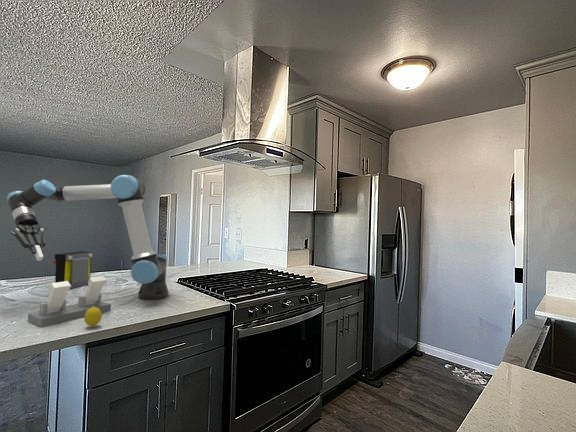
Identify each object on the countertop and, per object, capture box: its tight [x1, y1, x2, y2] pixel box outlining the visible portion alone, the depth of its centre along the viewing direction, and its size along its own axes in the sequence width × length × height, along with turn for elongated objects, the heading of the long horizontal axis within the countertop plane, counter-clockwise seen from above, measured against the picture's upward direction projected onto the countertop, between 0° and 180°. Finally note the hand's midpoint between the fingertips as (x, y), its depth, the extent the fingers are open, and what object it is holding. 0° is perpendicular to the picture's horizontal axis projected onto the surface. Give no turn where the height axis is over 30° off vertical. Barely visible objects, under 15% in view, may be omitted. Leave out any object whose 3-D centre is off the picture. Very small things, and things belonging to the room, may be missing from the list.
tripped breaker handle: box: [45, 281, 71, 312], centre depth 120 cm, size 3×6×13 cm
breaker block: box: [27, 292, 112, 328], centre depth 128 cm, size 12×26×8 cm, turn 150°
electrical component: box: [53, 250, 94, 290], centre depth 178 cm, size 18×10×20 cm, turn 168°
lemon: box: [84, 306, 103, 328], centre depth 116 cm, size 6×6×8 cm
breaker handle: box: [83, 275, 107, 304], centre depth 132 cm, size 3×6×13 cm, turn 149°
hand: (40, 258), depth 128 cm, fingers closed
